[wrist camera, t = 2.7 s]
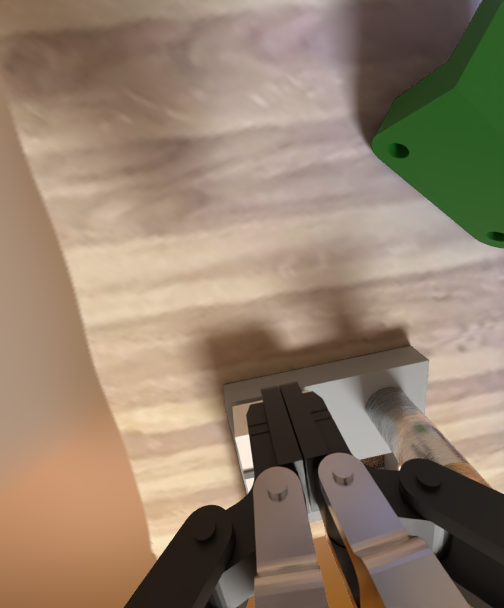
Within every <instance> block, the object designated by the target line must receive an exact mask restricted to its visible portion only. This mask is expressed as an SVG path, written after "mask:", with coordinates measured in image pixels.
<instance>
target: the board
mask: <svg viewBox="0 0 504 608" xmlns="http://www.w3.org/2000/svg"><path fill="white" fill-rule="evenodd" d="M428 369H429V360H428V359H427V358H426V357H424V356H423V355H422V354H421V353H419V352H418V351H417V350H416V349H414V348H413V347H412V346H407V347H402V348H397V349H392V350H388V351H383V352H378V353H373V354H368V355H364V356H359V357H354V358H349V359H345V360H340V361H335V362H330V363H325V364H321V365H316V366H311V367H306V368H302V369H297V370H292V371H287V372H282V373H278V374H273V375H268V376H263V377H259V378H254V379H249V380H244V381H239V382H235V383H230V384H225V385H224V404H225V408H226V412H227V416H228V420H229V424H230V428H231V432H232V436H233V440H234V444H235V448H236V452H237V456H238V460H239V464H240V468H241V472H242V476H243V480H244V484H245V488H246V492H247V494H248V489H247V485H246V481H245V478H244V474H243V468H242V464H241V460H240V456H239V452H238V448H237V444H236V440H235V433H234V421H233V409H232V407H233V406H237V405H242V404H247V403H251V402H256V401H261V400H262V396H261V390H260V389H262V388H266V387H271V386H276V385H278V387H279V385H280V384H285V383H289V382H294V381H297V382H298V384H299V386H300V389H301V391H302V392H303V391H309V392H311V391H314V392H315V393H316V394H317V395H319V396H320V397H321V398H323V400H324V402H325V404H326V406H327V408H328V411H329V412H330V414H331V416H332V418H333V419H334V421H335V423H336V425H337V427H338V429H339V431H340V433H341V435H342V436H343V438H344V440H345V442H346V444H347V446H348V448H349V450H350V452H351V453H352V455H353V456H354V457H356V458H357V459H359V460H361V459H365V458H369V457H374V456H378V455H383V454H384V466H383V467H378V468H376V469H384V470H396V471H400V468H401V465H400V463H399V462H398V460H397V459H396V457H395V456H394V454H393V453H392V451H391V450H390V448H389V447H388V445H387V444H386V442H385V441H384V439H383V438H382V436H381V435H380V433H379V432H378V430H377V429H376V427H375V426H374V424H373V423H372V421H371V420H370V418H369V417H368V415H367V414H366V409H365V408H366V403H367V401H368V399H369V398H370V397H371V396H372V395H373V394H374V393H375V392H377V391H378V390H380V389H383V388H386V387H396V388H399V389H401V390H402V391H403V392H404V393H405V394H406V395H407V396H408V397H409V398H410V400H411V401H412V402H413V403H414V404H415V405H416V406H417V407H418V408H419V409H420V410H421V411H422V413H423V414H424V415H425V404H426V392H427V380H428ZM308 502H309V501H308ZM309 509H310V513H308V519H309V523H311V522H315V521H319V520H323V519H322V516H321V513H320V511H316V512H312V511H311V507H310V504H309Z"/></svg>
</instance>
